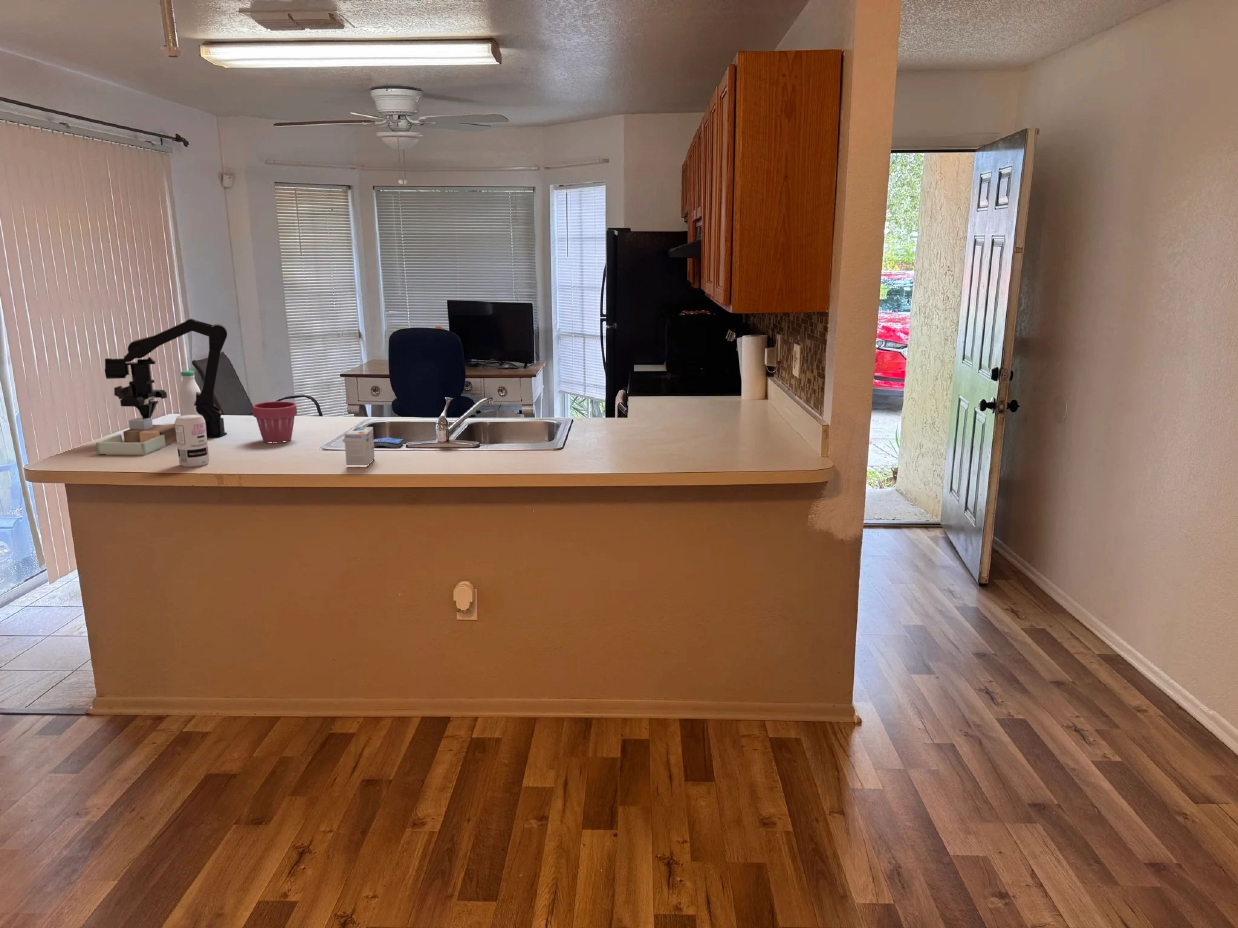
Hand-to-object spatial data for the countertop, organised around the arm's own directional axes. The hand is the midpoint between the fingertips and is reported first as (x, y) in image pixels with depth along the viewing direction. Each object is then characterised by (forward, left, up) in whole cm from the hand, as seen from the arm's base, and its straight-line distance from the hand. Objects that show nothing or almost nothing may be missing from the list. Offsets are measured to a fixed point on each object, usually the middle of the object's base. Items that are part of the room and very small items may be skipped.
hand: (147, 422), depth 289 cm
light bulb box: (-82, +31, -6) cm, 87 cm away
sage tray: (-3, +16, -6) cm, 18 cm away
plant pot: (-44, -1, -6) cm, 44 cm away
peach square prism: (-7, +10, -3) cm, 13 cm away
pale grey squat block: (0, +4, -1) cm, 4 cm away
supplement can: (-32, +34, -6) cm, 47 cm away
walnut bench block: (-4, +4, -6) cm, 8 cm away
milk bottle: (-1, -30, -6) cm, 31 cm away
